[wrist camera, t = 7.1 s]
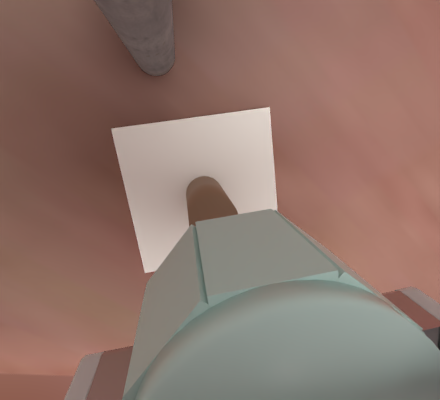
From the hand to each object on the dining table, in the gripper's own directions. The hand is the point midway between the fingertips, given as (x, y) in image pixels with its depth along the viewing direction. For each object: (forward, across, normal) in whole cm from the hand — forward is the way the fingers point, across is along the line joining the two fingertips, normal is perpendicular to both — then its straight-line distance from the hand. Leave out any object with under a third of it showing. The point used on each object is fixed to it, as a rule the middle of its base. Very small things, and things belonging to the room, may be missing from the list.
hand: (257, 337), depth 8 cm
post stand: (+18, 0, 0) cm, 19 cm away
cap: (+2, 0, 0) cm, 2 cm away
